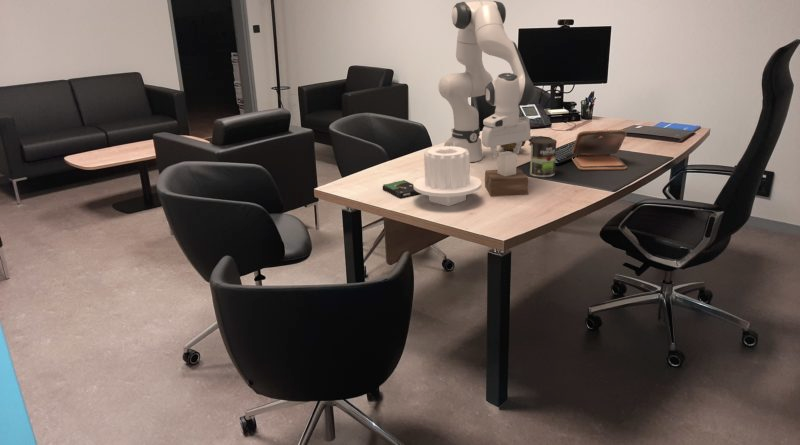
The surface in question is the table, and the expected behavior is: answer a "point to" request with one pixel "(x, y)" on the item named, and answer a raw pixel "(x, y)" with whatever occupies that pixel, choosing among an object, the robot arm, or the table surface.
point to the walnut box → (506, 183)
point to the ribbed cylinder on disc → (447, 176)
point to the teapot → (511, 146)
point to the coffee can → (543, 157)
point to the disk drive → (400, 189)
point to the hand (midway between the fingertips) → (506, 155)
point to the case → (599, 150)
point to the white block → (507, 163)
